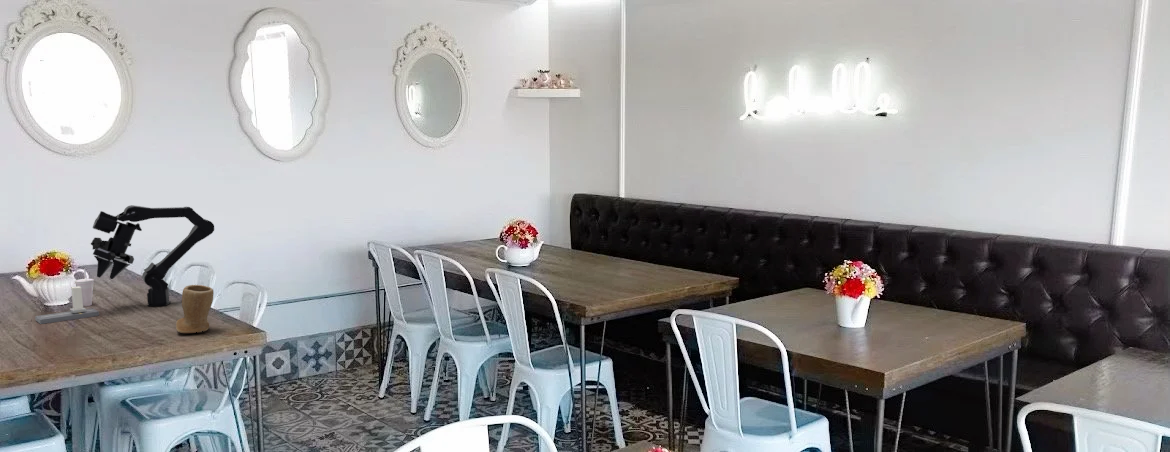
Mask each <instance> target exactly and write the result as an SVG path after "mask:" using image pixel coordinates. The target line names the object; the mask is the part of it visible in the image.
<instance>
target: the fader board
mask: <svg viewBox="0 0 1170 452" xmlns="http://www.w3.org/2000/svg"><path fill="white" fill-rule="evenodd" d="M99 312H100V311H99V310H97V309H96V308H94V307H91V308H86V311H85V312H78V313H73V312H71V311H70V310H69V311H64V312H55V313H49V314H41V315H36V316H35V315H34V320H35V321H36V323H38V324H40V325H43V324H51V323H57V322H64V321H72V320H77V319H78V320H79V319H86V318H91V317H98V316H100V313H99Z"/></svg>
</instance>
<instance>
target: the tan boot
mask: <svg viewBox="0 0 1170 452" xmlns="http://www.w3.org/2000/svg"><path fill="white" fill-rule="evenodd" d="M214 292H215V291H214V288H212V287H211V286H206V285H201V284H189V285H186V286H185V287H184V288H183V289H182V293H181V294H182V295H181V307H182V311H183V316H184V317H181V318H179V319H177V320H176V323H175V329H176V331H177V332H178V333H181V334H195V333H196V332H197V333H203V332H206V331H208V330H209V328H210V323H209V321H208V316H209V312H210V310H211V307H212V304H213V302H214ZM202 331H203V332H202ZM197 333H196V334H197Z"/></svg>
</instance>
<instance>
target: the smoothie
mask: <svg viewBox="0 0 1170 452" xmlns="http://www.w3.org/2000/svg"><path fill="white" fill-rule="evenodd" d="M86 271H87V269H86V268H83V276H84V278H80V279H76V280H74V284H75V287H78V286H79V287H81V290H82V302H83V307H89V306H92V304H93V293H94V291H93V290H94V282H95V280H94V278H87V272H86Z"/></svg>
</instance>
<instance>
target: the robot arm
mask: <svg viewBox="0 0 1170 452" xmlns="http://www.w3.org/2000/svg"><path fill="white" fill-rule="evenodd" d="M169 218H170V219H172V218H185V219H187V220H188V221H189V222H190V223H191V224H192V225H193V226H192V228H191V230H190V231H189V232H188V235H187V236H186V237H185V238H184V239H183V240H182V241H180V242H179V244H177V245H176V246H175V247H174V248H173V249H172V250H171V251H170V252H169V253H168V254H167V255H165V256H164V258H163V259H162V260H160V261H159V262H158V263H157V262H156V263H153V262H151V263H150V264H149V265H148V267H146V268H144V269H143V273H142V274H141V279H142V281H143V282H144V284H146V285H147V286H148V287H149V288H148V289H147V291H148V292H147V294H146V299H147V305H146V306H147V307H165V306H168V305H169V304H171V303H172V301H171V300H170V293H169V292H170V291H169V283H168V282H166V281H165V280H164V278H165V277H166V275H167V274H168V271H169V270H170V269H171V268H173V266H174V265H175V264H177V262H178V261H179V260H181V258H183V257H184V255H186V253H188V252H189V251H190V250H191V249H192V248H193V247H195V245H196V244H197V243H200V242H201V241H202V240H204V239H206V238H208V237H209V236H210V235H212V234H213V233H214V232H215V225H214V223H213V222H212V221H210V220H208V219H206V218H203V217H202V216H201V215H200V214H198V213H197V212H196V211H195V210H194V209H193V208H192V207H190V206H183V207H182V206H181V207H179V206H177V207H147V206H140V205H128V206H126V207H125V208H124V210H123V212H121V213H118V214H117V215H112V214H109V213H107V212H105V211H102V210H101V211H99V214H98V216H97V217H96V218H95V220H94V222H93V225H92V229H93V230H97V231H99V232H102V233H103V232H104V233H105V234H111V233H114V235H113V236H112V237H109V238H108V240H102V238H101V237H93V239H92V241H91V242H90V245H91V246H92V250H93V253H92V255H93V257H94V258H95V260H96V261H97V269H96V277H97V278H102V276H103V275H104V274H105V272H107V270H108V269H109V268H110V267H111V266H112V268H111V271H110V275H109V279H110V280H114V278H116V277H117V276H118V275H119V274H120V273H122V272H123V271H124V270H125V269H126V268H127V267H129V266H131V264H132V265H133V263H134V260H135V258H134V256H133V255H132V254H128V253H126V252H127V249H128V247H132V243H131V241H132V238H133V236H134V234H135V231H139V232H142V228H141V226H140V223H139V222H143V221H146V220H151V219H169ZM124 222H126V223H124ZM135 223H136V224H135Z"/></svg>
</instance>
